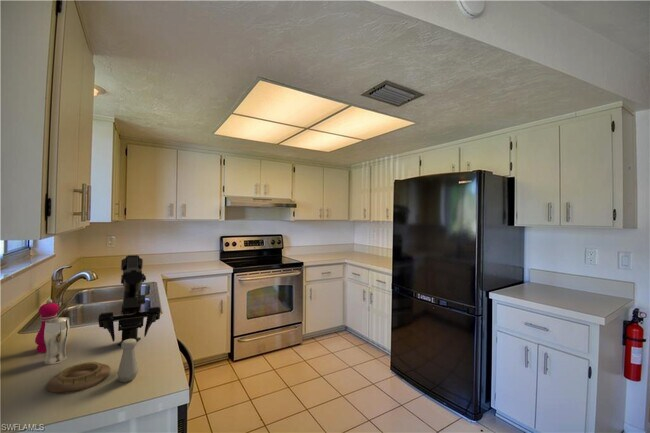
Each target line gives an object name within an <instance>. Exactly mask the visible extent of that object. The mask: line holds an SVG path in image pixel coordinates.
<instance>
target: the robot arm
mask: <svg viewBox="0 0 650 433" xmlns="http://www.w3.org/2000/svg"><path fill="white" fill-rule="evenodd" d="M120 263H121V264H120V266H121V267H120V270H121V271H122V274H121V275H120V276H121V277H120V284H121V285H122V286H123V296H122V304H121V311H120V314H115V315H114V312H113V311H107V312H100V314H98V319H97V320H98V326H99V328H102V329H104V330H107V332H109V335H110V338H111V340H112V342H113V343H114V342H115V339H116V336H115V324H114V322H117V321H118V323H117V324H118V325H117V326H118V329H117V331H118V332H120V331H121V341H119V342H118V343H117V346H121V344H122V342H123V341H124V340H127V339H135V340H136V342H137V343H138V342H139V341H140V340H141V339H142V338H141V337H138V333H139V332H138V331H139V329H141V328H143V327H144V334H143V335H144V337H147V334H148V332H149V330H150V327H151V326H152V324H153V323H155V322H156V321H159V320H160V318H161V307H160V306H150V307H148V310H147V311H141V306H142V305H145V304H146V294H142V286H143V283H145V281H147V277H146V275H145V274H144V273H143V267H144V266H143V265H144V264H143V263H144V260H143V259H142V258H141V257H140V255H138V254H130V255H126V256H125V258H123V259H121V262H120ZM145 318H146V322H145V321H144V319H145ZM144 322H145V326H144Z"/></svg>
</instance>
